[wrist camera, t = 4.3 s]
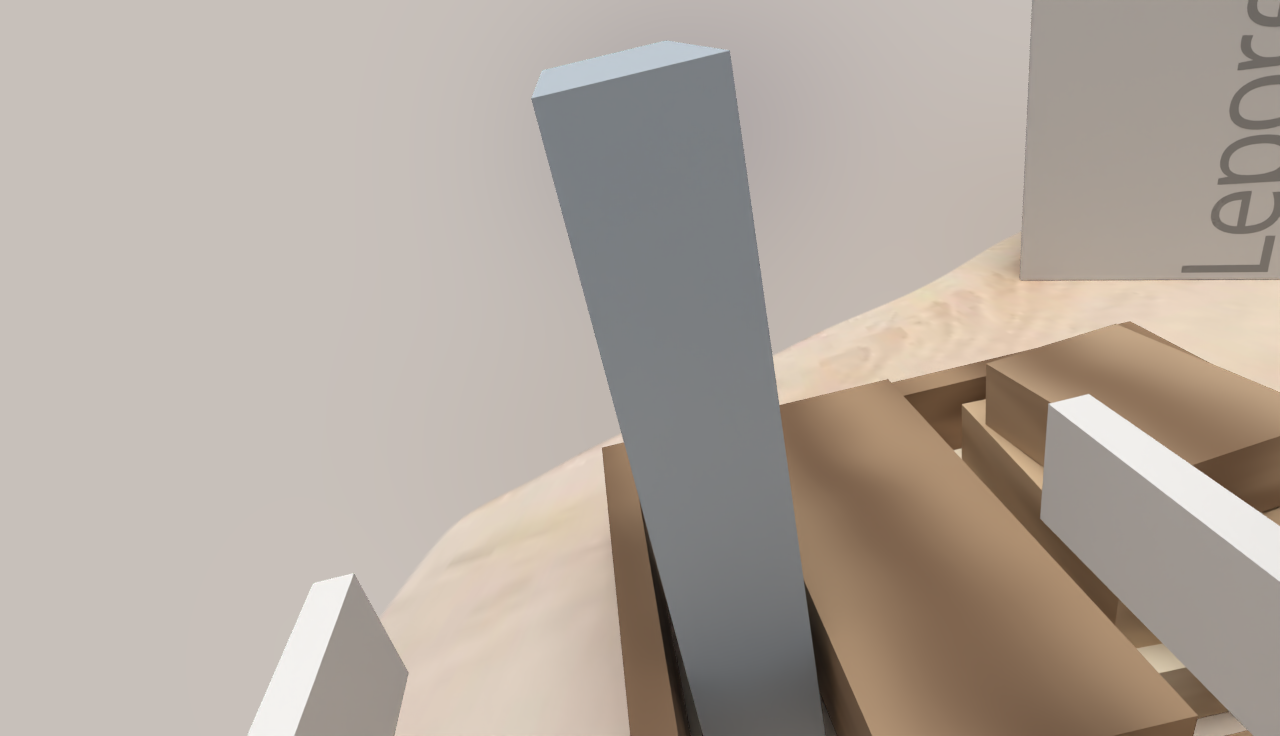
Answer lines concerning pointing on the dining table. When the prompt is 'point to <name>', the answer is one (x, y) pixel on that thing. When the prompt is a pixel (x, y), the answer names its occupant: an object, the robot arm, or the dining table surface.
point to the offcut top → (1147, 405)
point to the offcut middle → (1022, 494)
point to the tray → (909, 586)
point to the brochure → (1152, 140)
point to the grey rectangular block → (689, 365)
